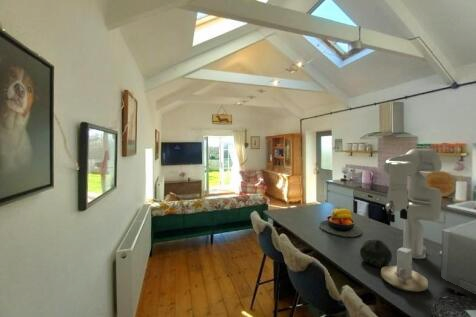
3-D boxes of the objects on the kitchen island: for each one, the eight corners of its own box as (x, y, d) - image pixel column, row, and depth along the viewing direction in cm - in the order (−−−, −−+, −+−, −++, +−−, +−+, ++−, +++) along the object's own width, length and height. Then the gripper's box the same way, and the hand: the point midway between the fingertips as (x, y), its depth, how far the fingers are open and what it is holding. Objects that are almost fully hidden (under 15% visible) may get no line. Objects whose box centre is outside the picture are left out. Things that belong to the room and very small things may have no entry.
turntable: (427, 277, 110) (427, 261, 110) (428, 296, 96) (429, 277, 96) (383, 265, 121) (383, 251, 121) (378, 281, 107) (379, 264, 107)
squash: (364, 244, 140) (362, 231, 131) (393, 252, 130) (393, 238, 122) (359, 266, 132) (356, 253, 124) (390, 276, 123) (389, 263, 114)
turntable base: (397, 273, 118) (398, 269, 118) (429, 288, 105) (429, 284, 105) (379, 278, 113) (379, 275, 113) (409, 295, 100) (409, 291, 100)
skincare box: (406, 279, 105) (407, 253, 105) (395, 274, 109) (396, 249, 108) (412, 275, 109) (413, 250, 108) (401, 270, 112) (402, 246, 112)
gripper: (401, 184, 122) (400, 215, 123) (379, 187, 115) (378, 220, 116) (416, 186, 115) (415, 219, 116) (394, 190, 109) (393, 225, 110)
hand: (397, 220), depth 116 cm, fingers open, 9 cm apart
